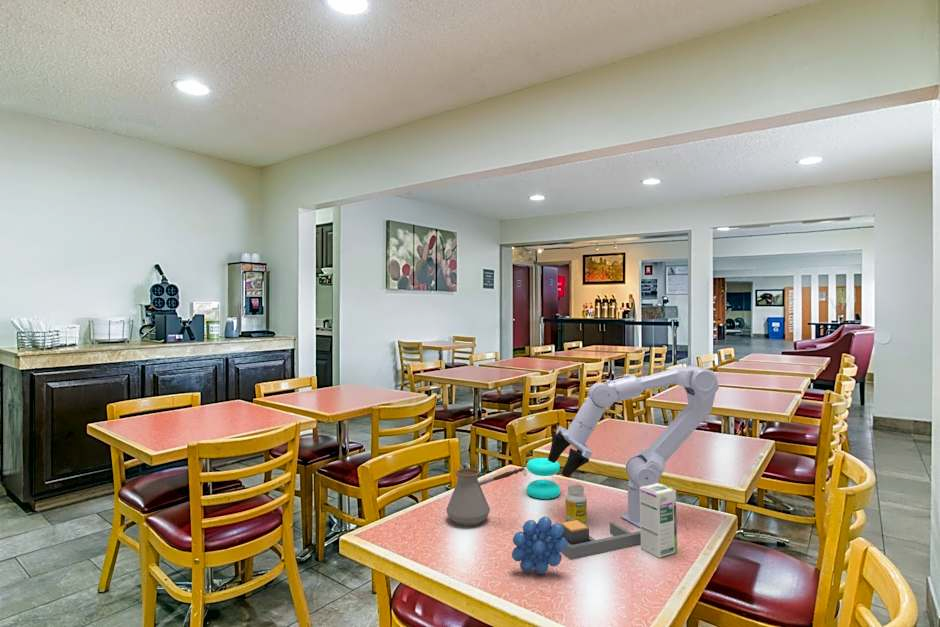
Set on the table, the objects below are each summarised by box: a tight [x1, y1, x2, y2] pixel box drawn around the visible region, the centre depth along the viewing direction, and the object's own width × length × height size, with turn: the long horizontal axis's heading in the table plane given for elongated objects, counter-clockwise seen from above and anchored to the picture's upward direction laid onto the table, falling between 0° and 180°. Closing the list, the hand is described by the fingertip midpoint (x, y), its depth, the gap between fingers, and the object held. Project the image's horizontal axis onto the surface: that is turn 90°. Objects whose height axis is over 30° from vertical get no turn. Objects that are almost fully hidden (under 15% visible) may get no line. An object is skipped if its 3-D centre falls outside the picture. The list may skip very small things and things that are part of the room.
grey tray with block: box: [560, 520, 641, 560], centre depth 123 cm, size 20×8×5 cm, turn 112°
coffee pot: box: [446, 467, 527, 527], centre depth 136 cm, size 21×12×15 cm, turn 74°
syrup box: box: [639, 482, 678, 559], centre depth 119 cm, size 6×6×14 cm
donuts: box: [526, 457, 561, 500], centre depth 156 cm, size 10×10×10 cm
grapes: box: [511, 516, 568, 575], centre depth 110 cm, size 12×7×12 cm, turn 83°
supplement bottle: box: [565, 483, 588, 526], centre depth 135 cm, size 5×5×10 cm
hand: (557, 468), depth 138 cm, fingers open, 7 cm apart
